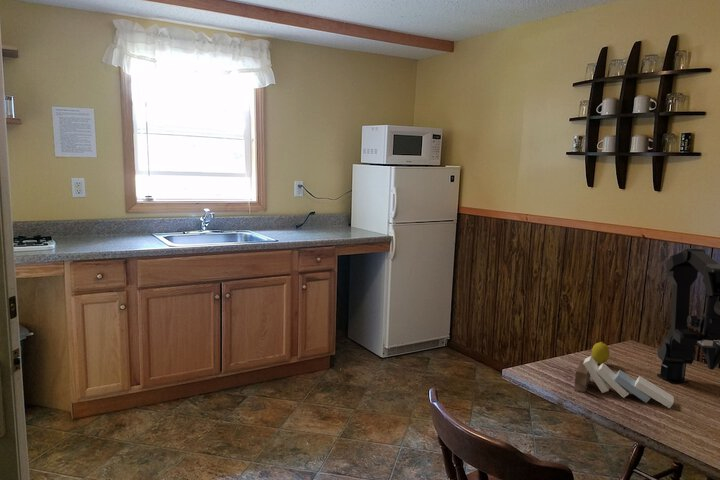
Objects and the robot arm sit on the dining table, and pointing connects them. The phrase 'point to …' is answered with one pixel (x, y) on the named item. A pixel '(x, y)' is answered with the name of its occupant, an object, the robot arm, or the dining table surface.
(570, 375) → the dining table surface
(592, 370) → the domino
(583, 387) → the end block
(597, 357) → the lemon
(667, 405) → the domino
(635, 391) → the blue domino
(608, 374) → the domino
